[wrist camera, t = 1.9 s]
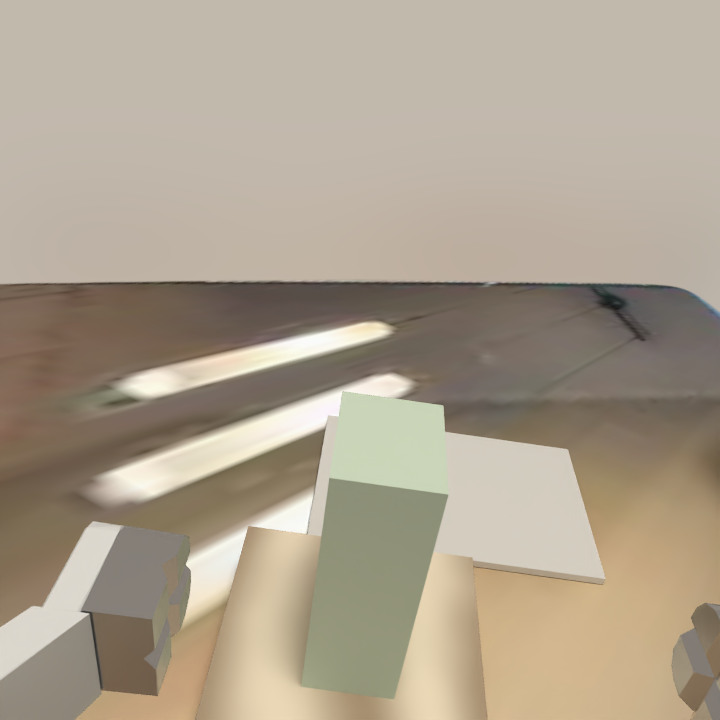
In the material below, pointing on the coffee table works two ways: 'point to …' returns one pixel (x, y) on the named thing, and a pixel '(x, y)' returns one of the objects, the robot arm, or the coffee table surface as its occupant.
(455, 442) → the rubber mat
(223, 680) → the plate
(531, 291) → the coffee table surface
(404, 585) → the sage green pillar
